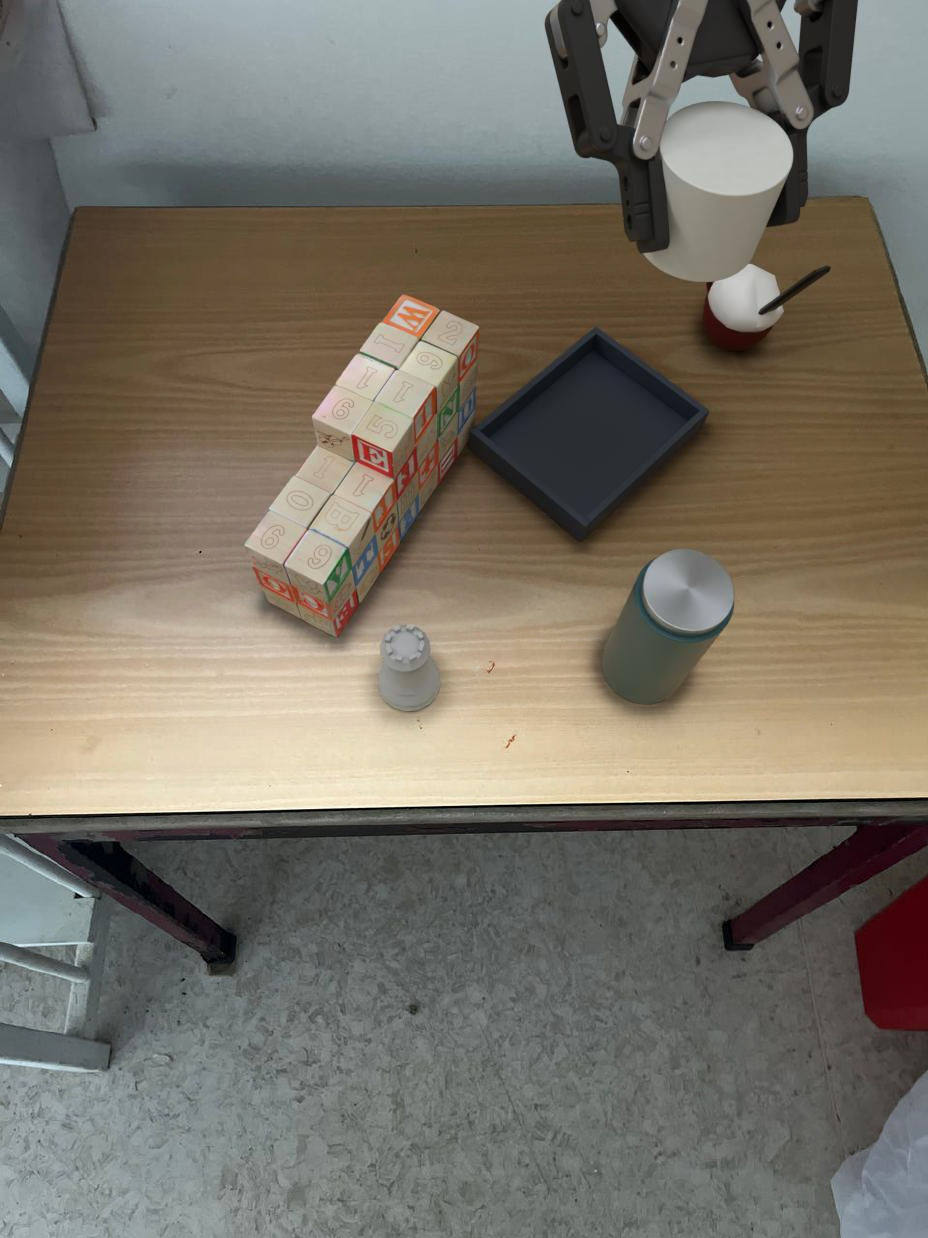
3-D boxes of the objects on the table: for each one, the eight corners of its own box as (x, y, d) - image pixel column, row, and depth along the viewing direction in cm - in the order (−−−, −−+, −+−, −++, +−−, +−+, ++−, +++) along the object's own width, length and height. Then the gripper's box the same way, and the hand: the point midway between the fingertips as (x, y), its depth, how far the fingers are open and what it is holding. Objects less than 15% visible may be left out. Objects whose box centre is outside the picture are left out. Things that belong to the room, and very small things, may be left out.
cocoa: (685, 299, 76) (726, 182, 65) (753, 295, 76) (806, 178, 65) (707, 384, 72) (754, 276, 61) (779, 380, 73) (839, 271, 62)
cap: (685, 175, 44) (714, 81, 39) (779, 237, 42) (820, 147, 38) (610, 235, 42) (631, 144, 38) (705, 302, 41) (739, 215, 36)
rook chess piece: (447, 703, 60) (448, 664, 53) (387, 720, 60) (379, 683, 53) (431, 647, 62) (429, 602, 55) (371, 663, 62) (361, 619, 54)
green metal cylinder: (637, 611, 64) (681, 525, 52) (699, 665, 62) (760, 588, 50) (584, 665, 62) (617, 588, 50) (647, 721, 60) (697, 656, 48)
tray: (591, 345, 74) (595, 325, 71) (701, 428, 70) (710, 410, 68) (468, 449, 69) (469, 430, 67) (580, 542, 66) (585, 526, 64)
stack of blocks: (338, 641, 62) (315, 564, 51) (267, 603, 63) (228, 520, 52) (476, 430, 70) (481, 323, 59) (410, 400, 71) (403, 289, 60)
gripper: (547, -252, 29) (606, 265, 36) (915, -297, 31) (907, 201, 38) (492, -148, 36) (550, 270, 43) (797, -191, 38) (808, 215, 45)
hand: (718, 236), depth 40 cm, fingers closed on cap, 6 cm apart
